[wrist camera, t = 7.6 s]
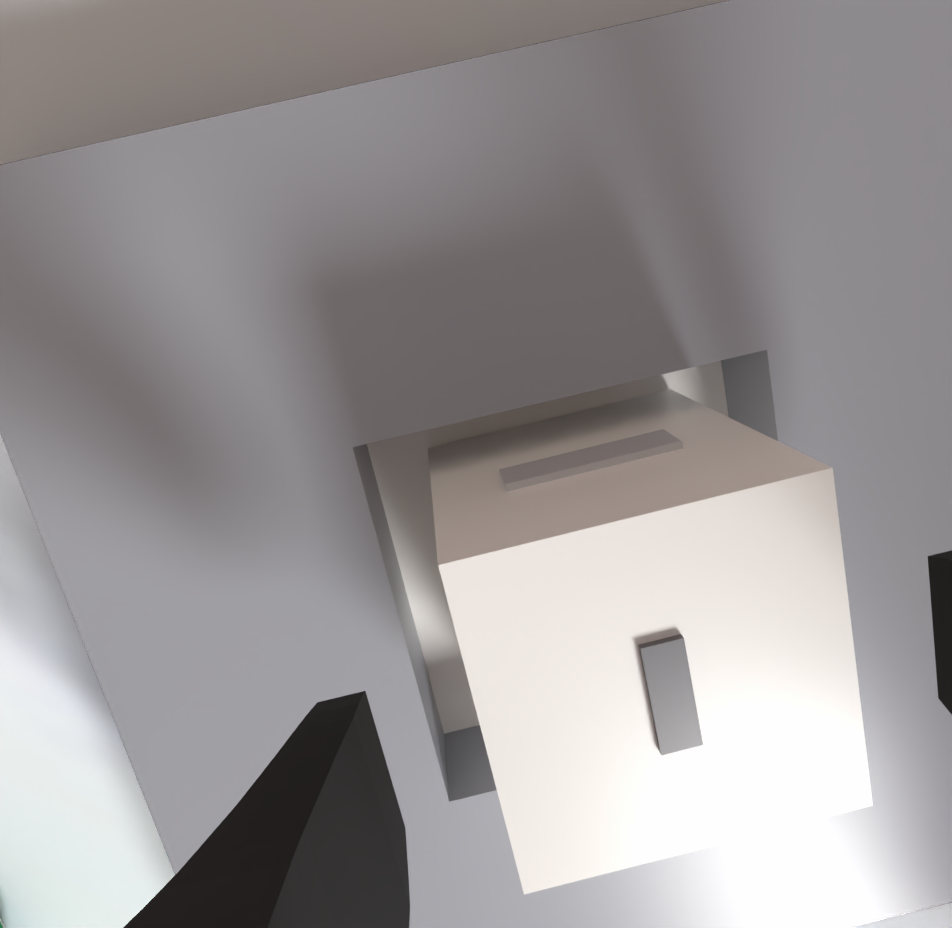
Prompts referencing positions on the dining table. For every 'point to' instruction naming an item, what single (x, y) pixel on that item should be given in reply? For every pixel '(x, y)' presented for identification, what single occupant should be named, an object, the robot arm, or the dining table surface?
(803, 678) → the brick
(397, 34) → the dining table surface
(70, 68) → the dining table surface
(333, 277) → the socket plate
